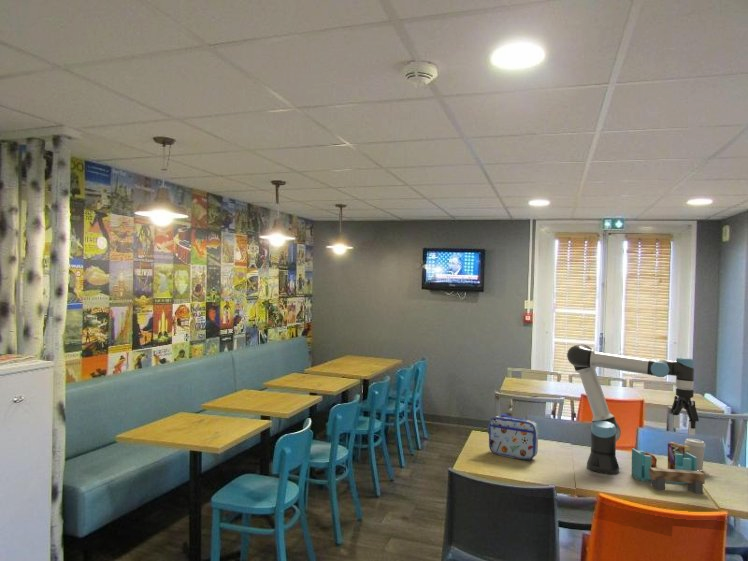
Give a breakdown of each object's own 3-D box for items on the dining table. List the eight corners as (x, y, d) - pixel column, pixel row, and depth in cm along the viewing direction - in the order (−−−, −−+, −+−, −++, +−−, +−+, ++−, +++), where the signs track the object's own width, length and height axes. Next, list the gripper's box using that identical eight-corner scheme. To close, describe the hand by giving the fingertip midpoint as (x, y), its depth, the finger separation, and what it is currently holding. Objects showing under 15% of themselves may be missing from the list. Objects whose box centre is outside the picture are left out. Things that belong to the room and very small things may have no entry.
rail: (653, 480, 227) (653, 470, 227) (649, 477, 231) (649, 467, 231) (704, 484, 224) (704, 474, 225) (699, 480, 229) (699, 471, 229)
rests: (658, 490, 225) (658, 478, 225) (651, 485, 232) (651, 473, 232) (702, 493, 223) (702, 482, 223) (694, 488, 230) (694, 477, 230)
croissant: (634, 464, 276) (627, 451, 278) (651, 457, 275) (644, 444, 276) (646, 475, 256) (639, 461, 257) (665, 468, 254) (657, 453, 256)
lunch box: (484, 453, 273) (485, 413, 274) (490, 449, 282) (491, 410, 283) (534, 463, 258) (535, 421, 260) (539, 458, 267) (540, 417, 268)
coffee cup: (709, 473, 255) (709, 443, 255) (688, 471, 256) (688, 441, 257) (700, 467, 264) (700, 439, 265) (681, 465, 266) (681, 437, 267)
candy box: (689, 477, 247) (689, 446, 248) (684, 477, 245) (684, 446, 246) (672, 471, 255) (672, 441, 256) (667, 472, 253) (667, 442, 254)
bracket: (639, 480, 237) (639, 453, 238) (631, 474, 246) (631, 448, 247) (696, 485, 234) (696, 457, 235) (686, 478, 243) (686, 452, 244)
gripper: (707, 393, 235) (706, 438, 234) (678, 385, 260) (677, 426, 258) (691, 392, 235) (690, 437, 234) (663, 384, 260) (663, 425, 259)
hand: (683, 431), depth 246 cm, fingers open, 13 cm apart
